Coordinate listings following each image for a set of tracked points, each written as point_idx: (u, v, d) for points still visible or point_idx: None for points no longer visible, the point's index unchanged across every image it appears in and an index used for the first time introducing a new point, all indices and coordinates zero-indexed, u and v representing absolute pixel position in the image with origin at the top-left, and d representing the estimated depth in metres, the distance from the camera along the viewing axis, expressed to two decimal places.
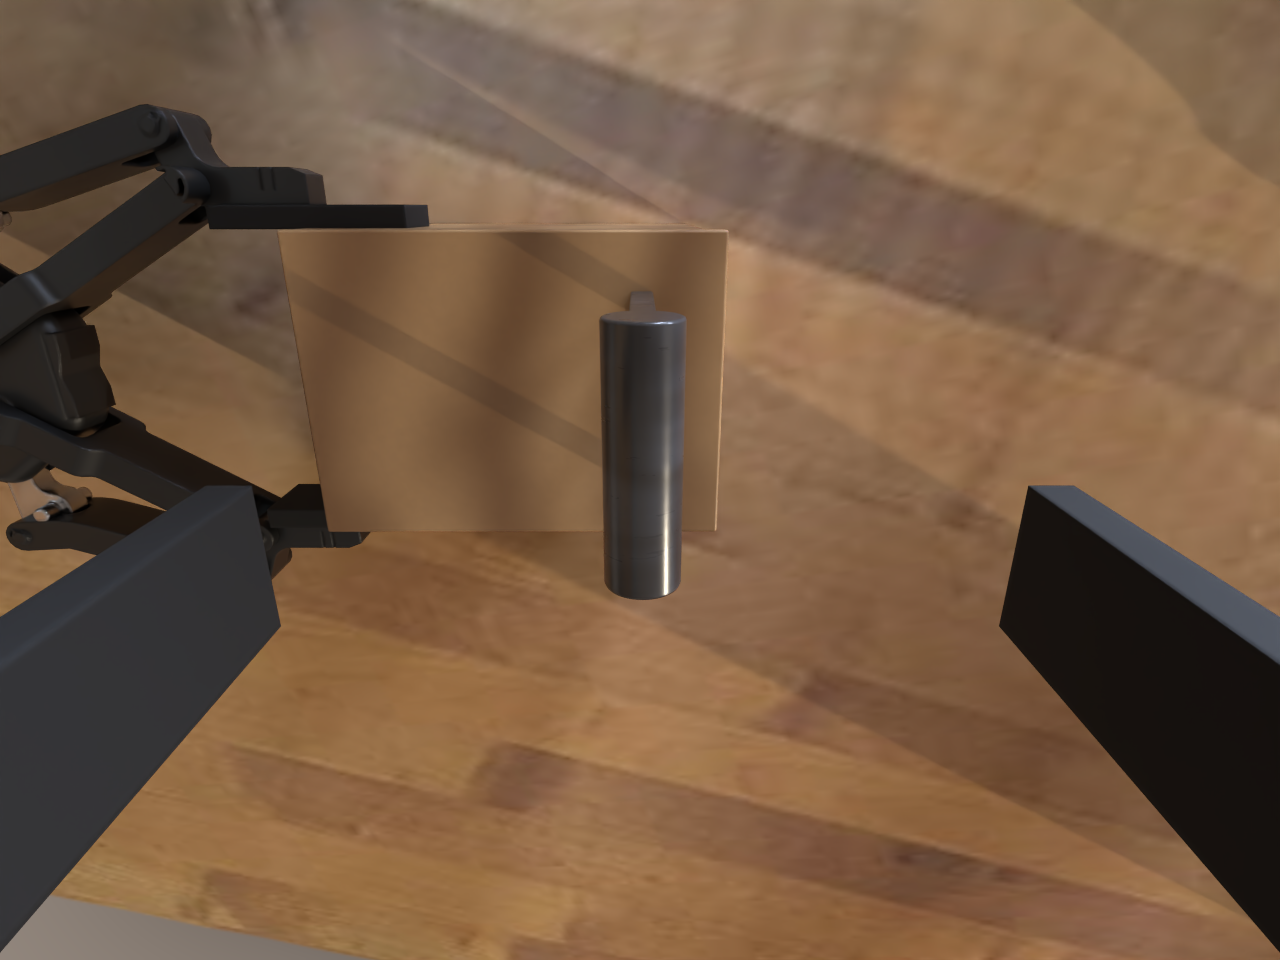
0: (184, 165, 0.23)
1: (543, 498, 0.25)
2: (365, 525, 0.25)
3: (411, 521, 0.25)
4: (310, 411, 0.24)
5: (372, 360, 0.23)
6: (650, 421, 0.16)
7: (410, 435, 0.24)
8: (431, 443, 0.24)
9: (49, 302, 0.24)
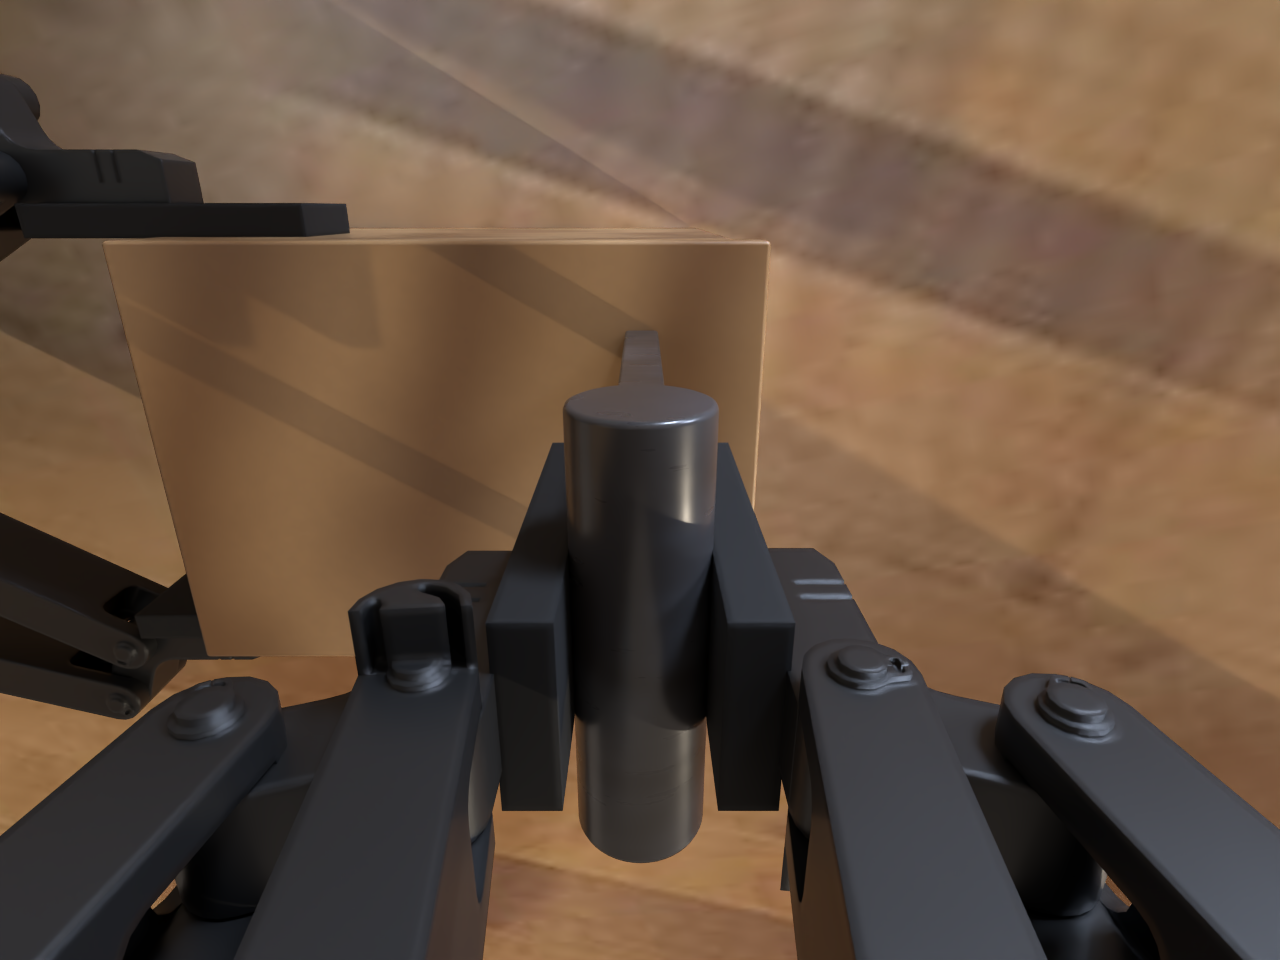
0: None
1: None
2: (258, 648, 0.18)
3: (321, 643, 0.18)
4: (170, 497, 0.17)
5: (253, 427, 0.16)
6: (654, 591, 0.09)
7: (314, 530, 0.17)
8: (344, 540, 0.17)
9: None
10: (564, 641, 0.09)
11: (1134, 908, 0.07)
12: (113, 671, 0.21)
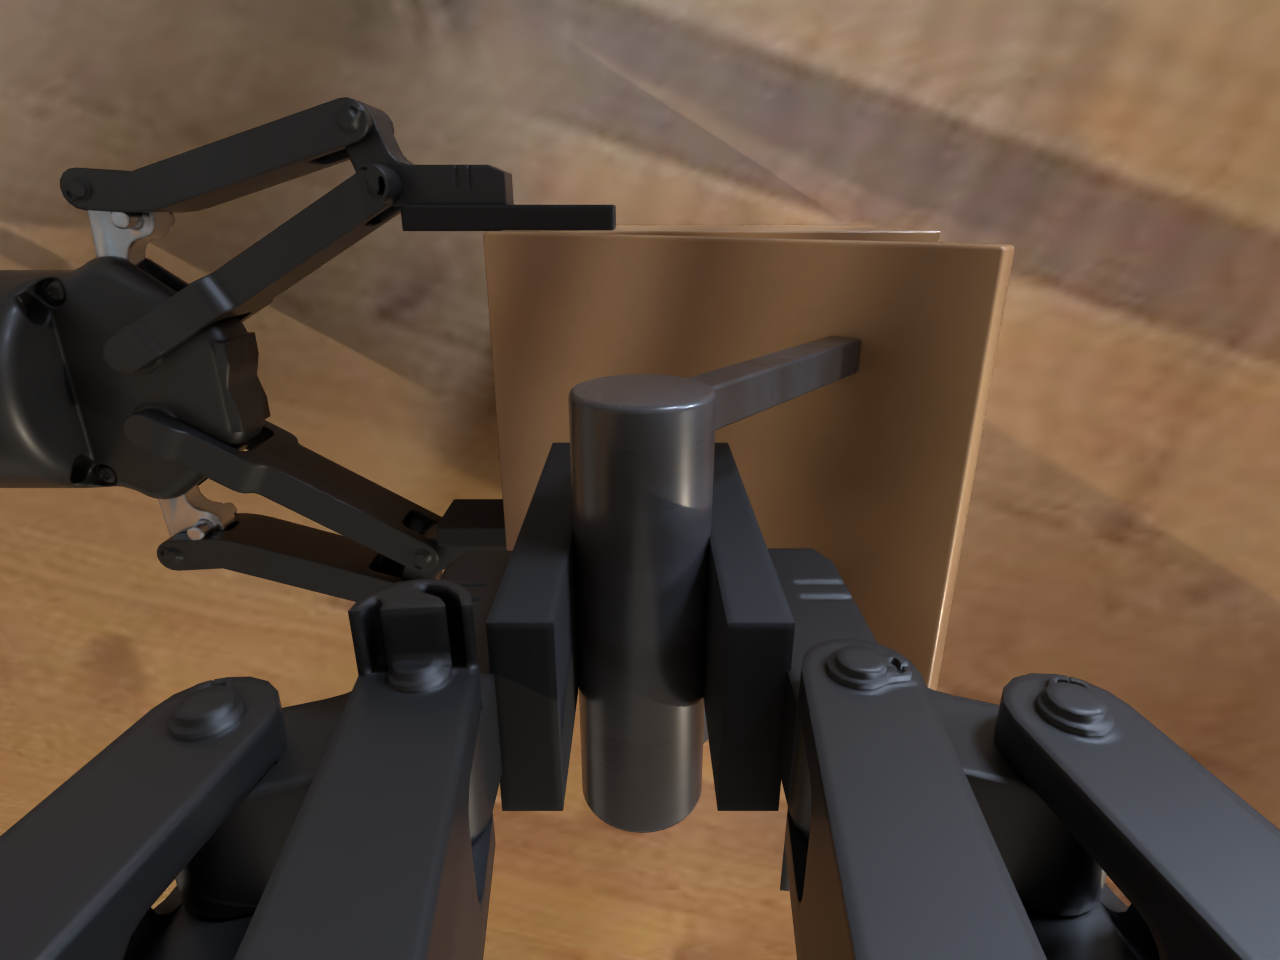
0: (376, 163, 0.22)
1: None
2: None
3: None
4: (499, 424, 0.22)
5: (547, 381, 0.20)
6: (607, 565, 0.10)
7: None
8: None
9: (225, 308, 0.23)
10: (564, 641, 0.09)
11: (1134, 908, 0.07)
12: (403, 576, 0.27)
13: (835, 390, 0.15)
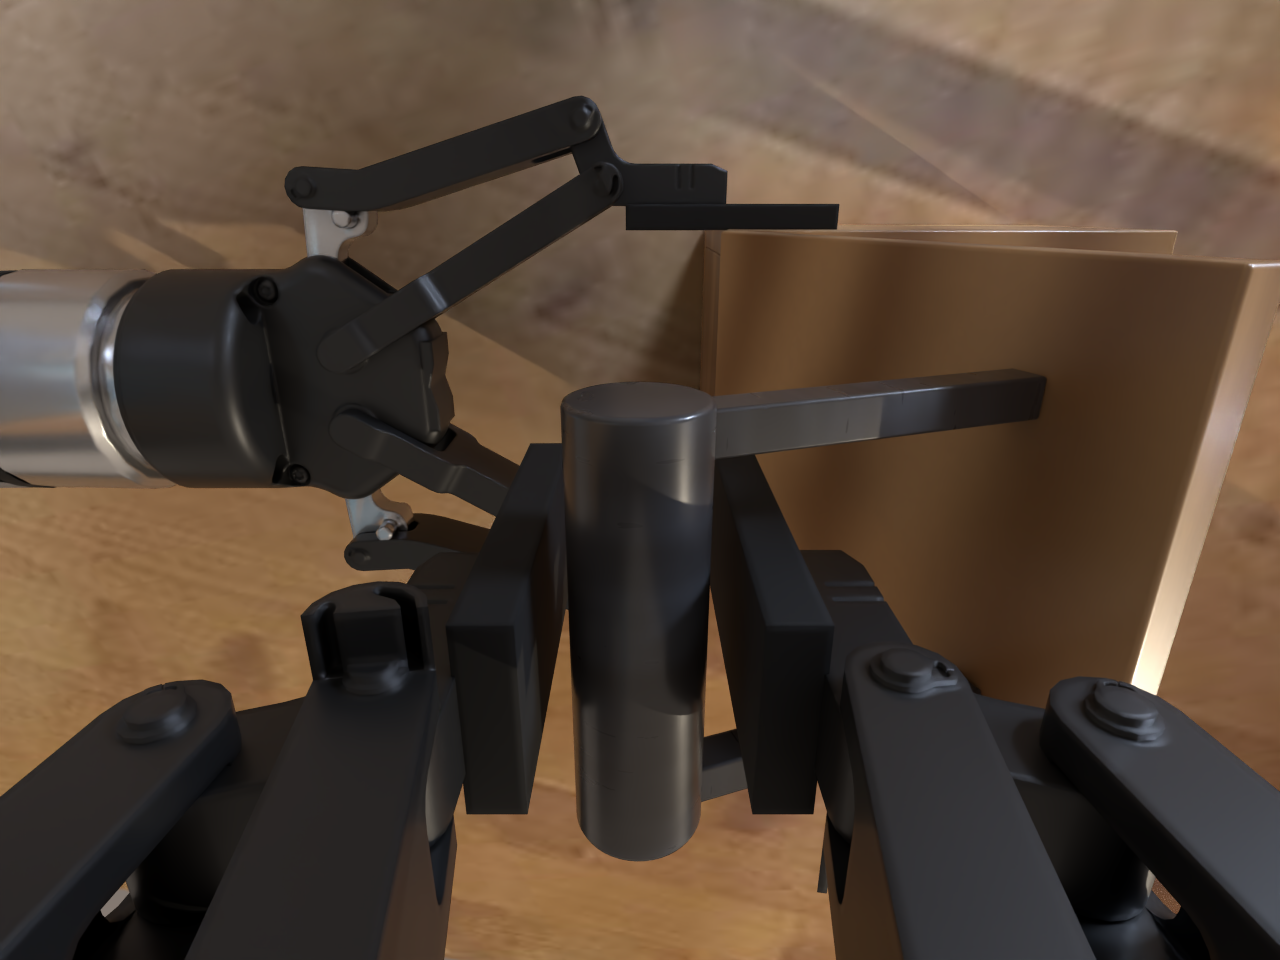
0: None
1: None
2: None
3: None
4: None
5: (752, 385, 0.20)
6: (574, 570, 0.09)
7: None
8: None
9: (441, 308, 0.23)
10: (530, 644, 0.09)
11: (1182, 915, 0.07)
12: None
13: (1010, 438, 0.12)
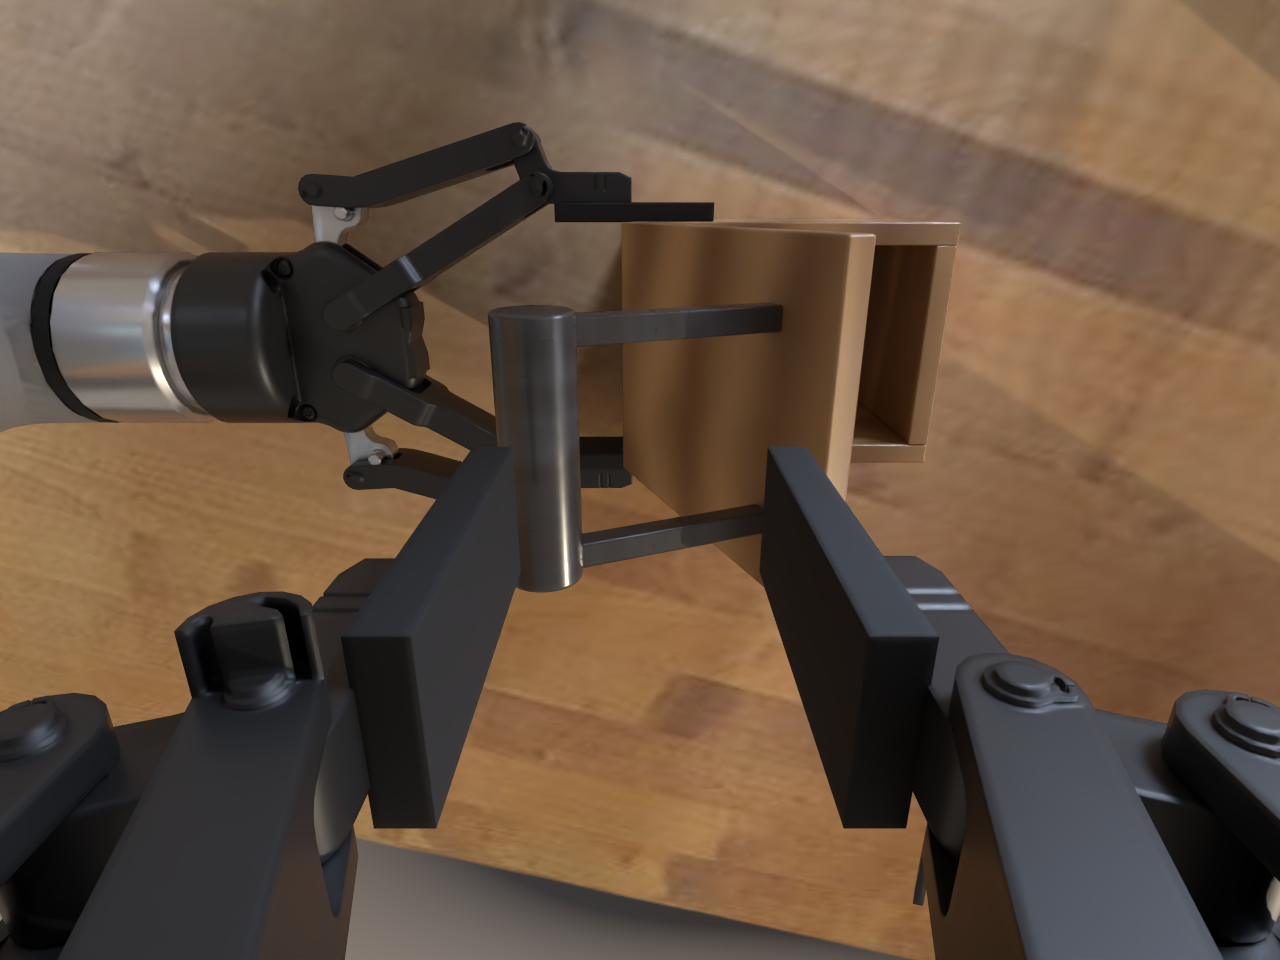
0: (535, 170, 0.29)
1: (706, 503, 0.24)
2: (634, 471, 0.30)
3: (650, 481, 0.28)
4: (623, 367, 0.30)
5: None
6: (498, 409, 0.17)
7: (654, 406, 0.27)
8: (661, 418, 0.27)
9: (416, 281, 0.30)
10: (441, 653, 0.09)
11: None
12: None
13: (771, 345, 0.19)
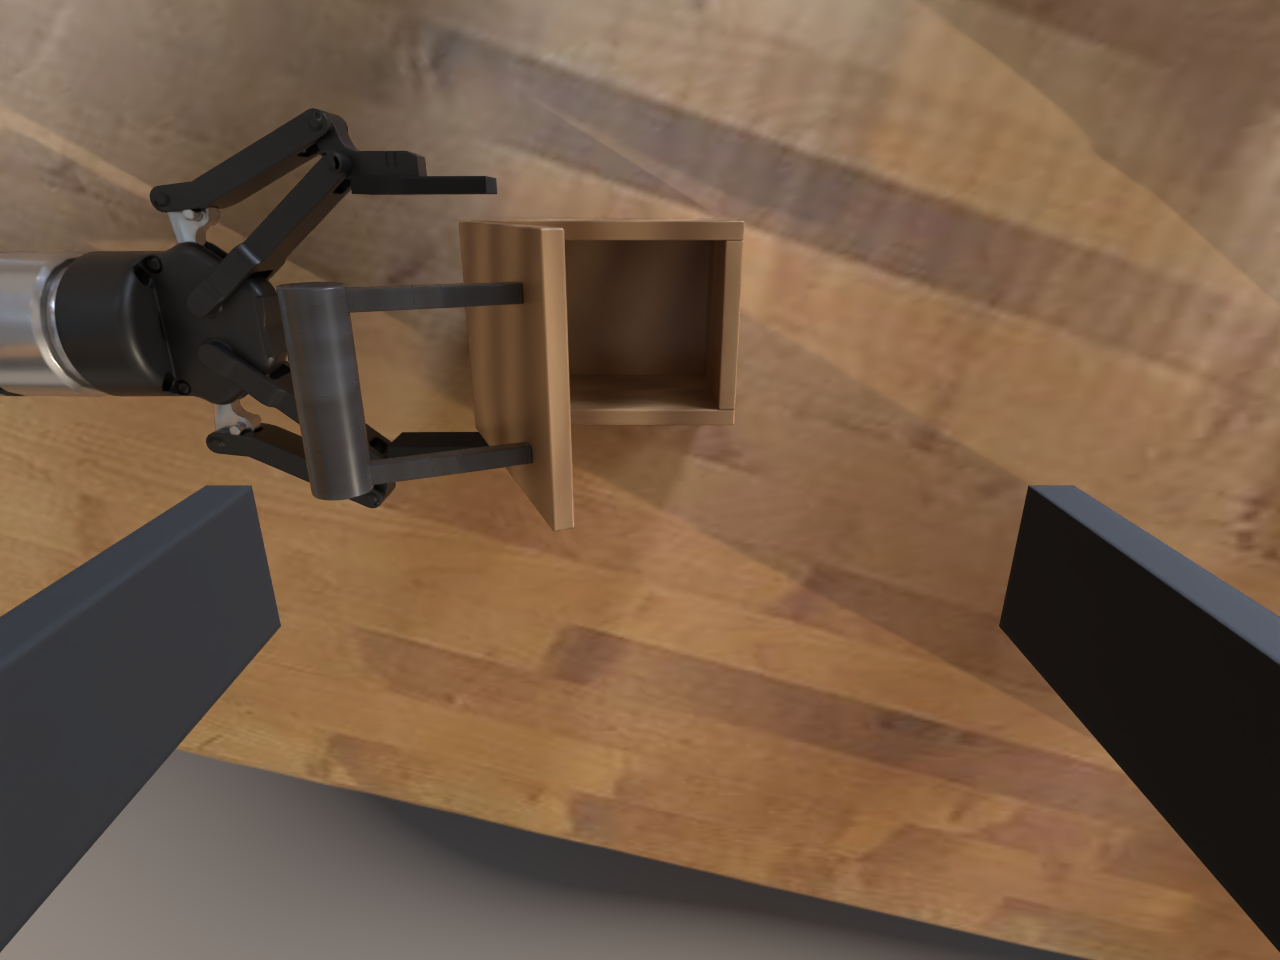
0: (334, 150, 0.34)
1: None
2: (480, 430, 0.36)
3: (487, 436, 0.34)
4: None
5: (475, 314, 0.33)
6: (289, 359, 0.22)
7: (483, 373, 0.33)
8: (487, 382, 0.32)
9: (256, 262, 0.35)
10: None
11: None
12: None
13: (521, 315, 0.25)
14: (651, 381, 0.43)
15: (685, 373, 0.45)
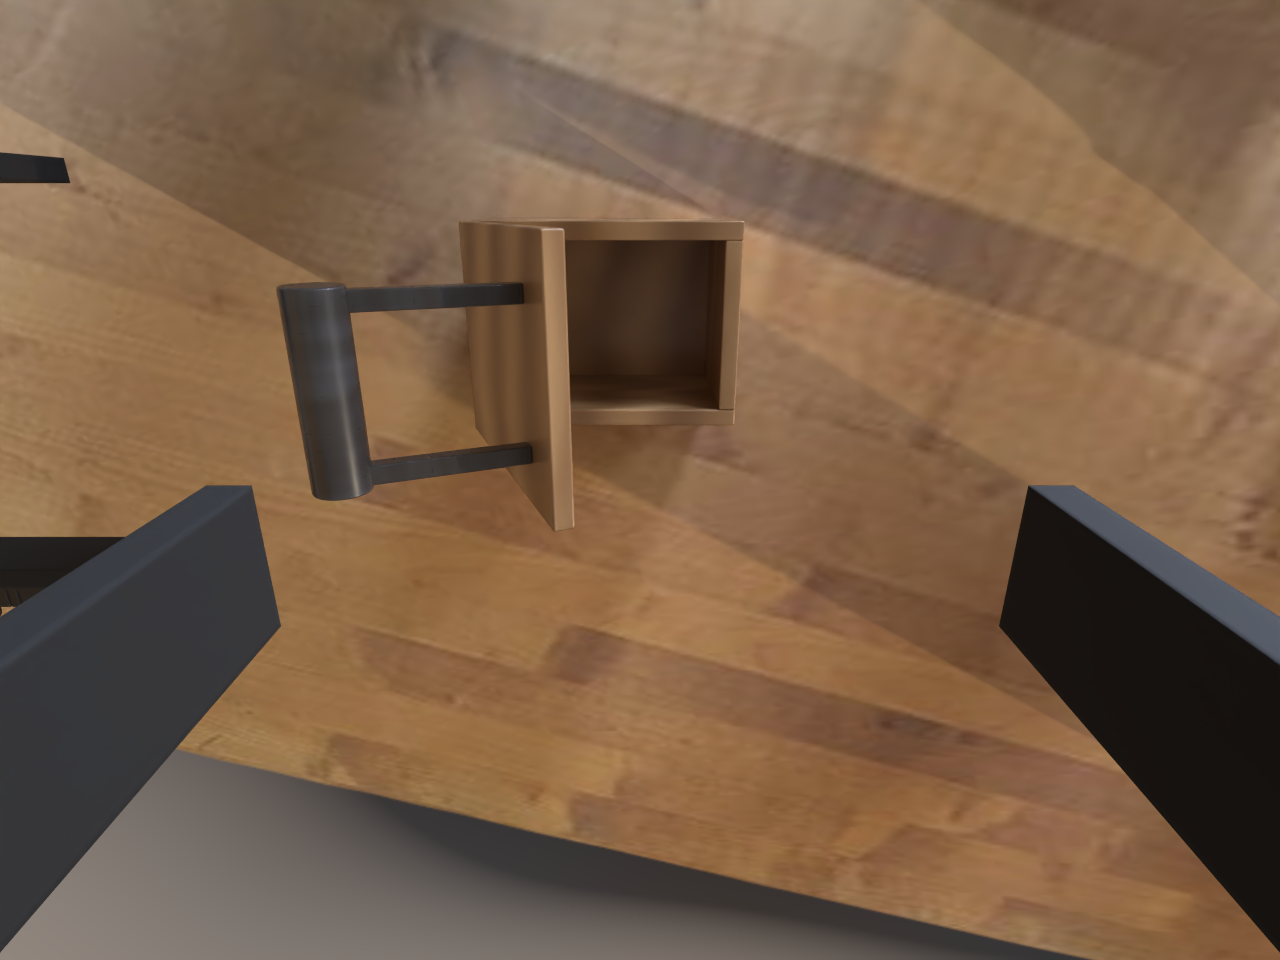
0: None
1: None
2: (480, 430, 0.36)
3: (487, 437, 0.34)
4: None
5: (475, 314, 0.33)
6: (289, 359, 0.22)
7: (484, 373, 0.33)
8: (487, 382, 0.32)
9: None
10: None
11: None
12: None
13: (521, 315, 0.25)
14: (651, 381, 0.43)
15: (685, 373, 0.45)
